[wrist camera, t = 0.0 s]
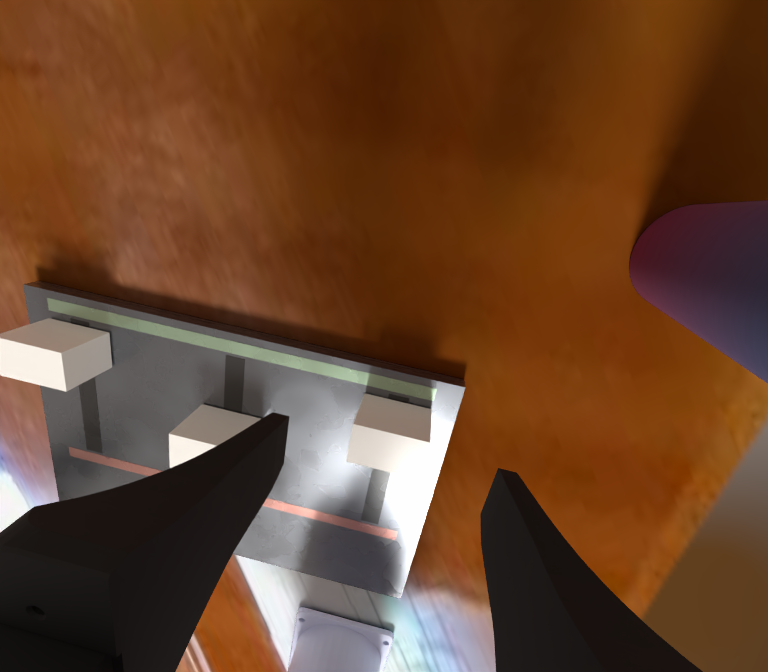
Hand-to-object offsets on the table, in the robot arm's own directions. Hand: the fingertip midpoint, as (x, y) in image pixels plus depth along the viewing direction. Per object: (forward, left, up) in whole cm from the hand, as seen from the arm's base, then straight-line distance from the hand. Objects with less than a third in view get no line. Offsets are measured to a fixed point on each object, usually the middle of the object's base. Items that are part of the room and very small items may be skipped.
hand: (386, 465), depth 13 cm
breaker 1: (-4, +20, -9) cm, 22 cm away
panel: (-10, +10, -10) cm, 17 cm away
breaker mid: (-8, +10, -9) cm, 15 cm away
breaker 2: (-4, 0, -9) cm, 10 cm away
